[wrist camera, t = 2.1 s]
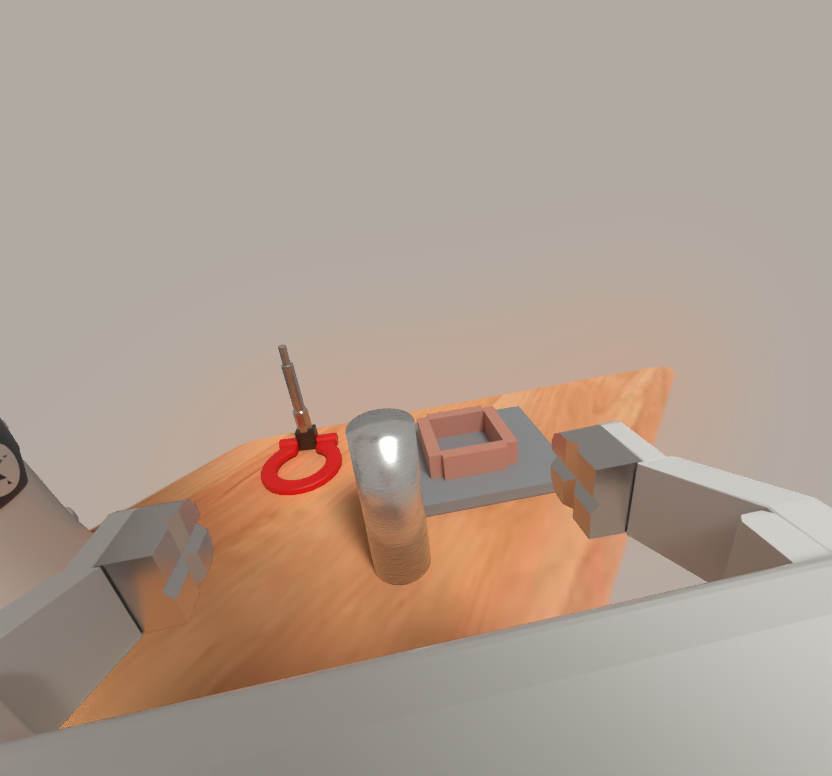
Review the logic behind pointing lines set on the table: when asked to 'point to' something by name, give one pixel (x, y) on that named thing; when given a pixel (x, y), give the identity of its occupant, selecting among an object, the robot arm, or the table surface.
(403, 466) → the brushed steel cylinder
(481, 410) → the keeper
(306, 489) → the tow hook
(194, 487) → the table surface
